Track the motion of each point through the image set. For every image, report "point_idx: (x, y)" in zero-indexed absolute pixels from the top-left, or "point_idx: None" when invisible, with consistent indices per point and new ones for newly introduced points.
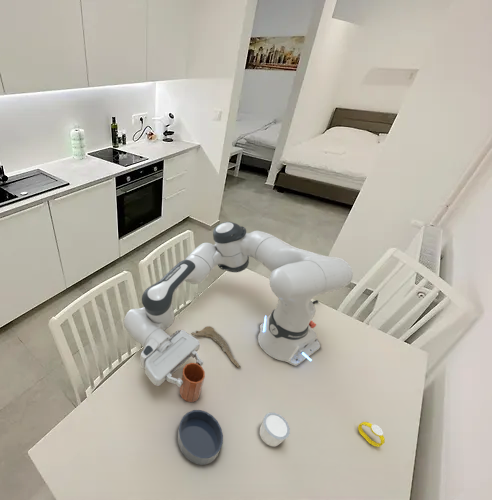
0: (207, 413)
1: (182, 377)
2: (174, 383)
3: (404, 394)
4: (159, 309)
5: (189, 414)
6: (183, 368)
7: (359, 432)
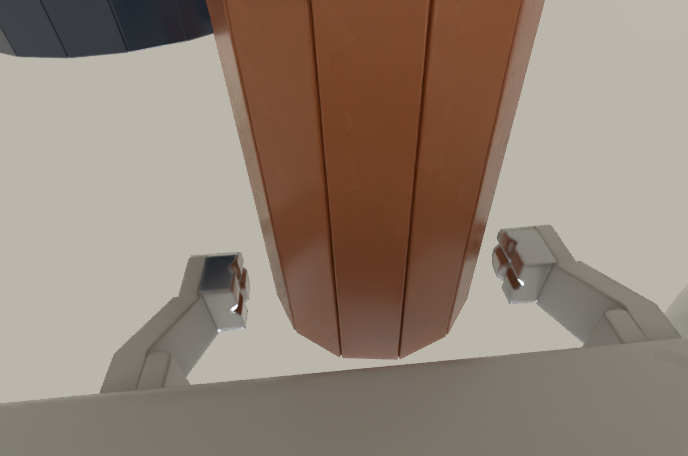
0: None
1: (285, 288)
2: (170, 303)
3: None
4: None
5: (133, 28)
6: (340, 355)
7: None
